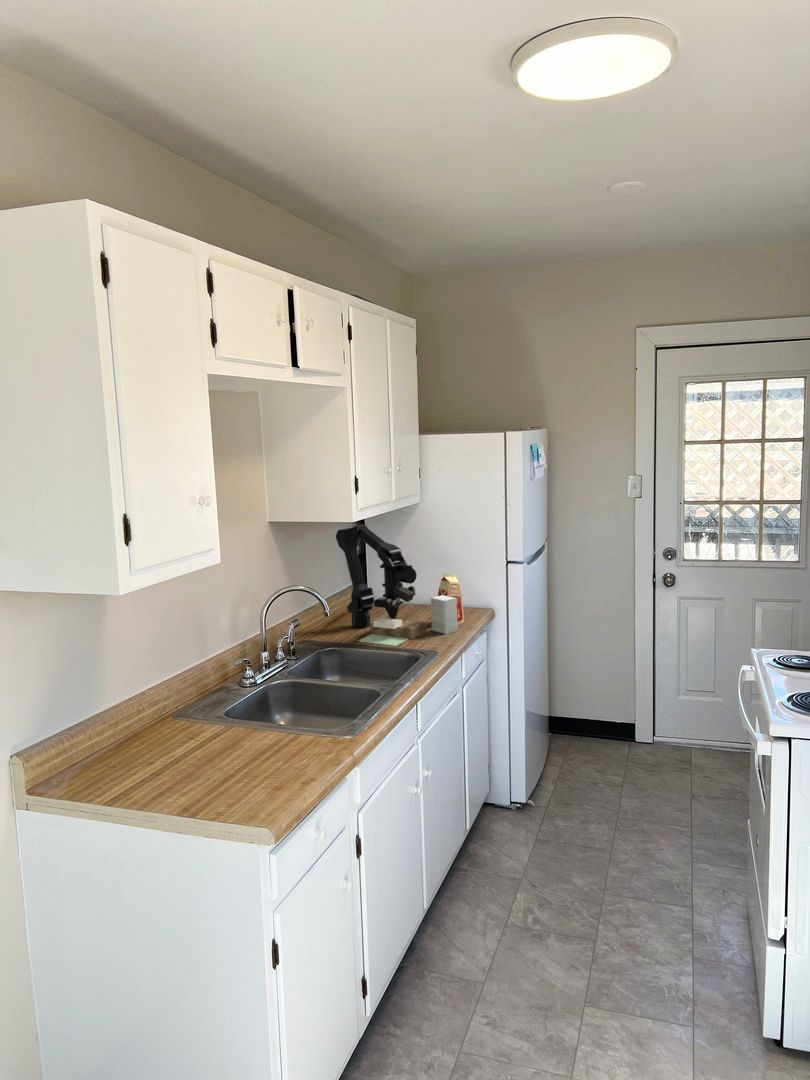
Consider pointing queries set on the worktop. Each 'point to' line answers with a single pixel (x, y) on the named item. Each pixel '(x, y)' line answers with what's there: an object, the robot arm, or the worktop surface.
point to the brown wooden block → (401, 630)
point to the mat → (384, 640)
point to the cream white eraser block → (387, 623)
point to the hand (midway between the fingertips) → (393, 620)
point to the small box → (444, 614)
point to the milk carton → (452, 593)
